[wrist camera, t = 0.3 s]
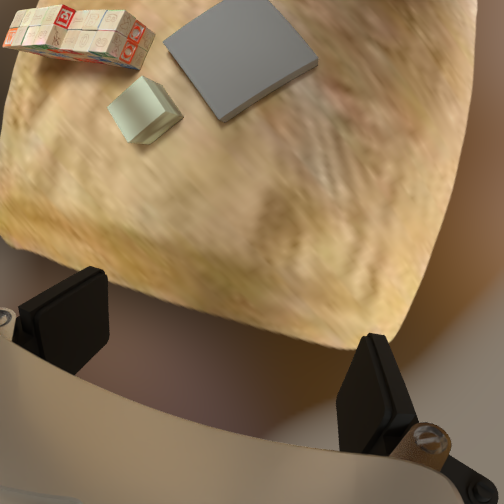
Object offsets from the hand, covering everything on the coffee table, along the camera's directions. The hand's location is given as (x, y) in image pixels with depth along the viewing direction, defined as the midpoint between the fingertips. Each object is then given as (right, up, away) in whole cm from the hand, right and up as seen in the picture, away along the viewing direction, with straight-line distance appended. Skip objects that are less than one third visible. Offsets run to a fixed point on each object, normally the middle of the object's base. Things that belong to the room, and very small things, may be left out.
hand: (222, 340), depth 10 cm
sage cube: (-12, +22, +28) cm, 37 cm away
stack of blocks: (-23, +35, +26) cm, 50 cm away
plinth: (0, +28, +24) cm, 37 cm away
